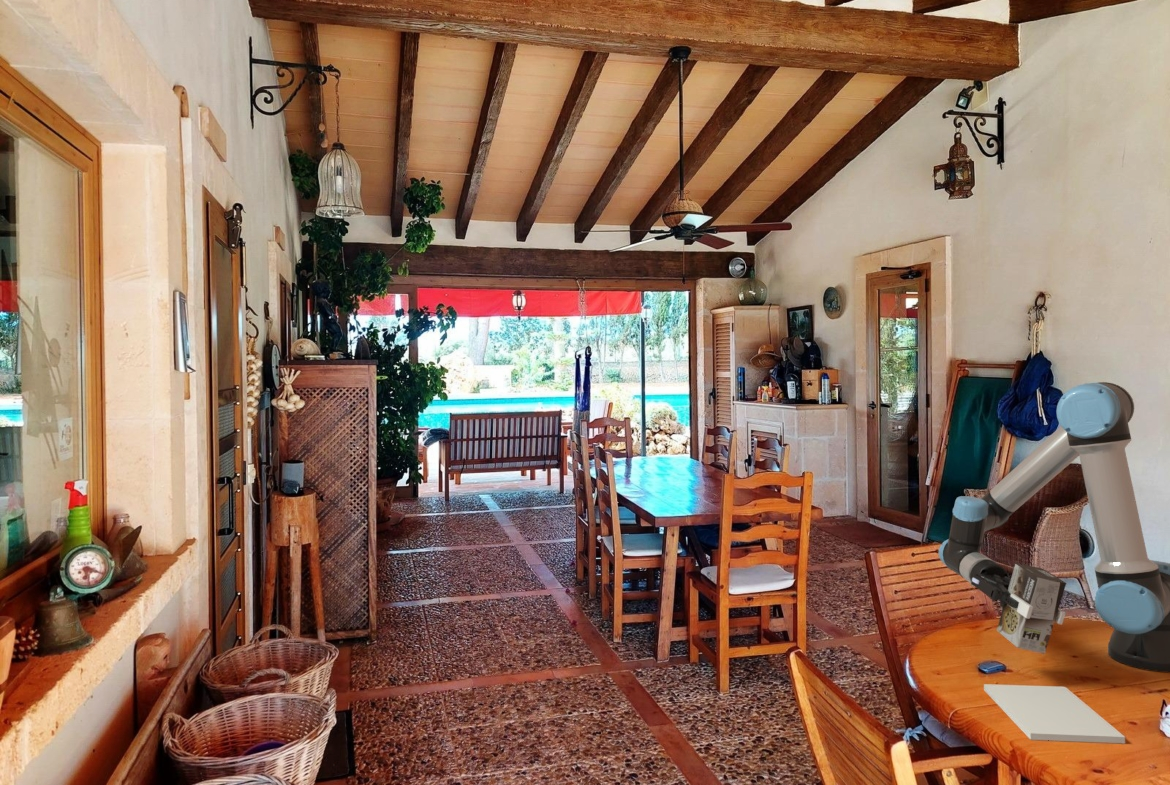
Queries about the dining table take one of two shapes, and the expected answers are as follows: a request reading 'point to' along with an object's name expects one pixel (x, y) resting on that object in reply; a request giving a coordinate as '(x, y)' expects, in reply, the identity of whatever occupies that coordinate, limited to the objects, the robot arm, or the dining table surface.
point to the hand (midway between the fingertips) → (1045, 615)
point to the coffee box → (1045, 600)
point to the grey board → (1052, 714)
